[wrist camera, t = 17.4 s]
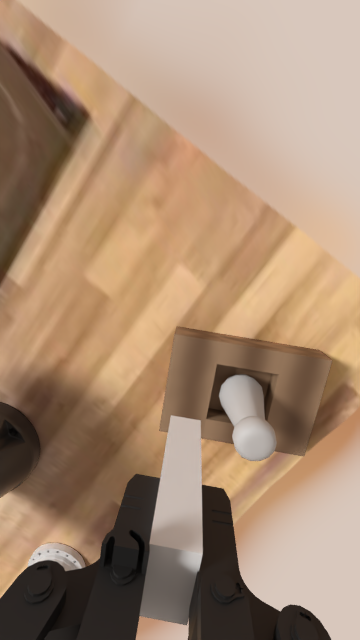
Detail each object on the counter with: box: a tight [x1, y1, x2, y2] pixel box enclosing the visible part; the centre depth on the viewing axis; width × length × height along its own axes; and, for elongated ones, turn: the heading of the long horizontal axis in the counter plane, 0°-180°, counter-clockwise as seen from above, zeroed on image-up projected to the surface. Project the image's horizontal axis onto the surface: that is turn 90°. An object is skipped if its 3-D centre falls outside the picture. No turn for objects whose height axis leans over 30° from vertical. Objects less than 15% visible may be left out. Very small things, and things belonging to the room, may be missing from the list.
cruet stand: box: [159, 327, 332, 456], centre depth 40 cm, size 20×14×4 cm
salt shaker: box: [219, 374, 277, 461], centre depth 35 cm, size 6×6×13 cm
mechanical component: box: [28, 543, 85, 571], centre depth 50 cm, size 10×4×10 cm
